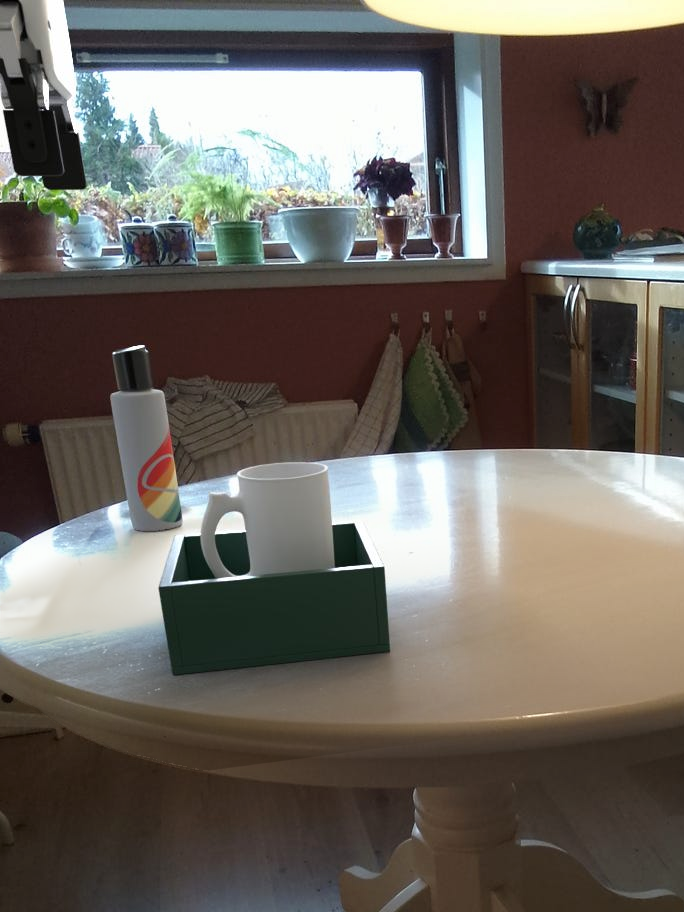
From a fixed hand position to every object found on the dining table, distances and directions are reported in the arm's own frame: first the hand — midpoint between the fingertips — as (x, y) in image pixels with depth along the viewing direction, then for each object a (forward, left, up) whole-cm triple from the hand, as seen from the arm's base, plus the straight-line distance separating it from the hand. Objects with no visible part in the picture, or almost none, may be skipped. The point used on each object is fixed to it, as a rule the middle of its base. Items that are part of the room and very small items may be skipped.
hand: (53, 182), depth 69 cm
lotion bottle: (0, +29, -34) cm, 44 cm away
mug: (+13, -11, -33) cm, 37 cm away
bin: (+13, -11, -33) cm, 37 cm away
